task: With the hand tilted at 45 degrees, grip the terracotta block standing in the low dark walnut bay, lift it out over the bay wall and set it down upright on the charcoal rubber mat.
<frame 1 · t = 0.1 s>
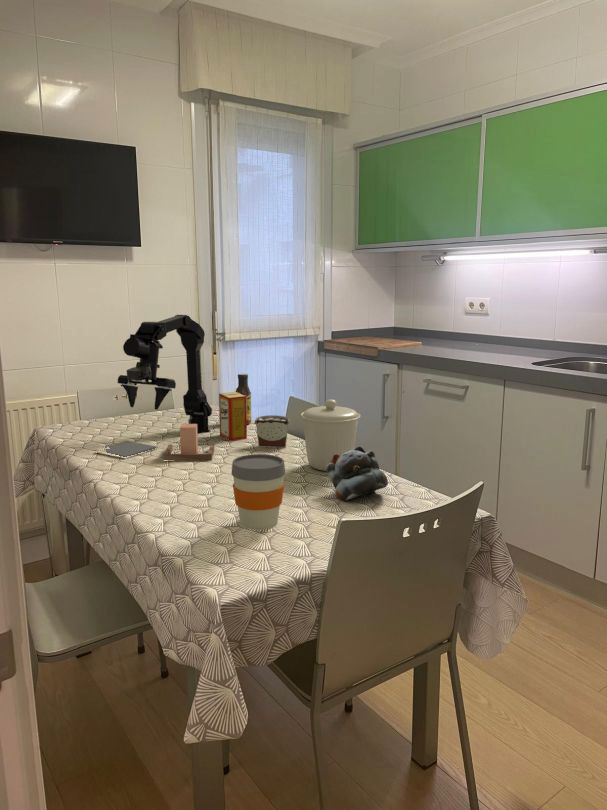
hand: (143, 408, 199), 15 cm above the table, tool pointing down, fingers open, 9 cm apart
grey stuffed animal: (355, 495, 166), on the table
food container: (273, 445, 215), on the table
canister: (329, 467, 190), on the table
terracotta block: (189, 440, 201), in the walnut bay
rubber mat: (125, 450, 206), on the table
reusable coffee cup: (258, 522, 147), on the table
sauce bottle: (243, 423, 247), on the table
walnut bay: (189, 455, 202), on the table
baking soda box: (233, 437, 226), on the table
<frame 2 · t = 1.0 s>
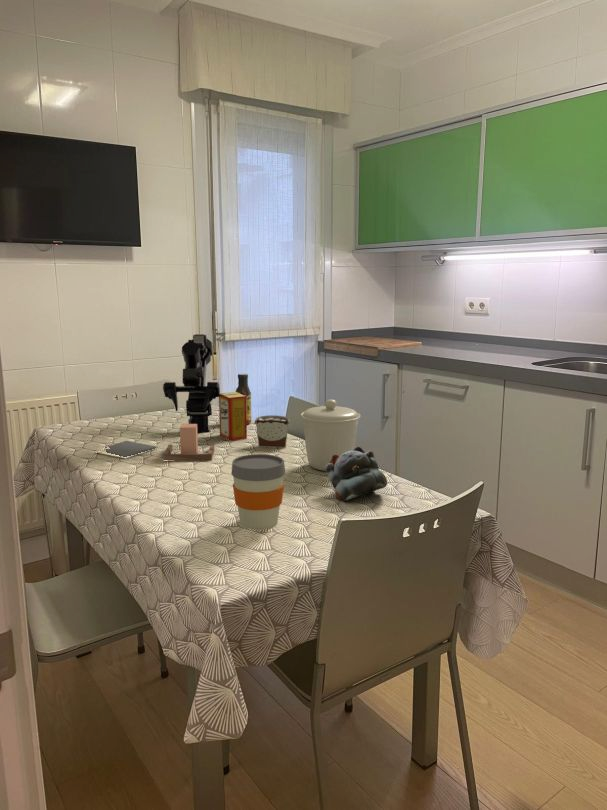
hand: (190, 410, 207), 13 cm above the table, tool tilted 45°, fingers open, 9 cm apart
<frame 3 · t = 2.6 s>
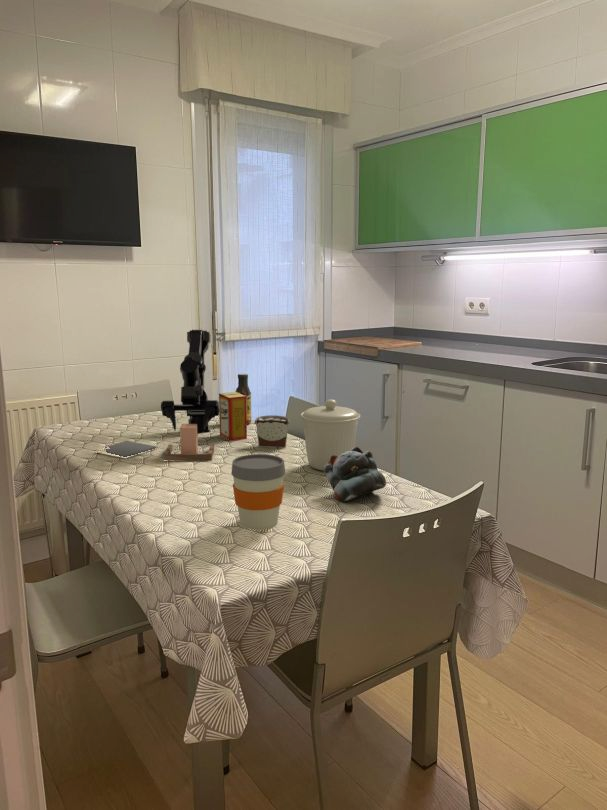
hand: (189, 429, 201), 8 cm above the table, tool tilted 45°, fingers open, 9 cm apart
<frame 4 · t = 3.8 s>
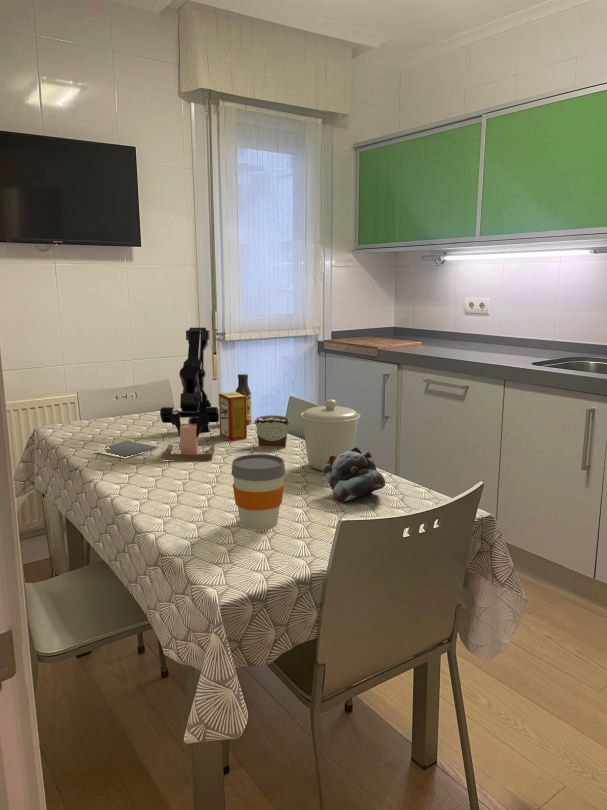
hand: (188, 436, 199), 7 cm above the table, tool tilted 45°, fingers closed on terracotta block, 5 cm apart
terracotta block: (189, 440, 201), in the walnut bay, touching gripper
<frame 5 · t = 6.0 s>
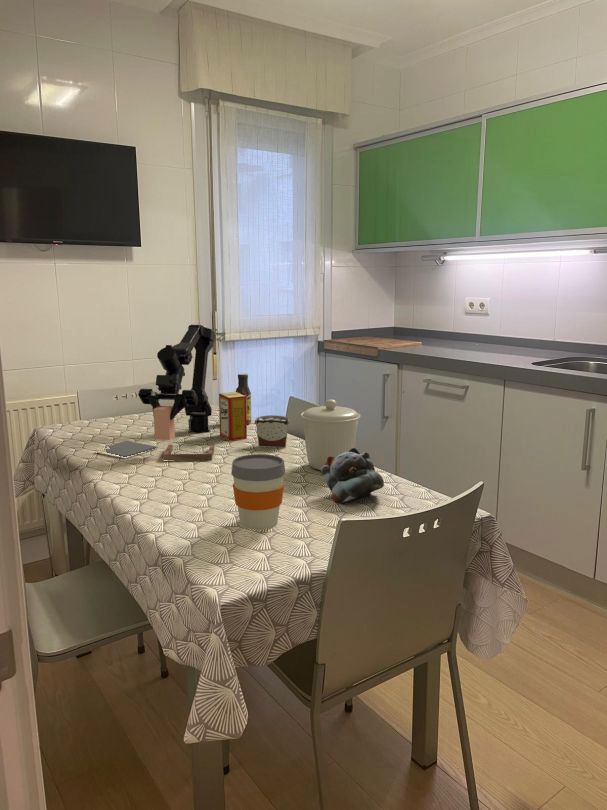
hand: (162, 418, 198), 12 cm above the table, tool tilted 45°, fingers closed on terracotta block, 5 cm apart
terracotta block: (164, 422, 199), point 11 cm above the table, touching gripper
when the fingers open (9 cm above the table, at t = 8.5 s): terracotta block drops 1 cm, resting on rubber mat.
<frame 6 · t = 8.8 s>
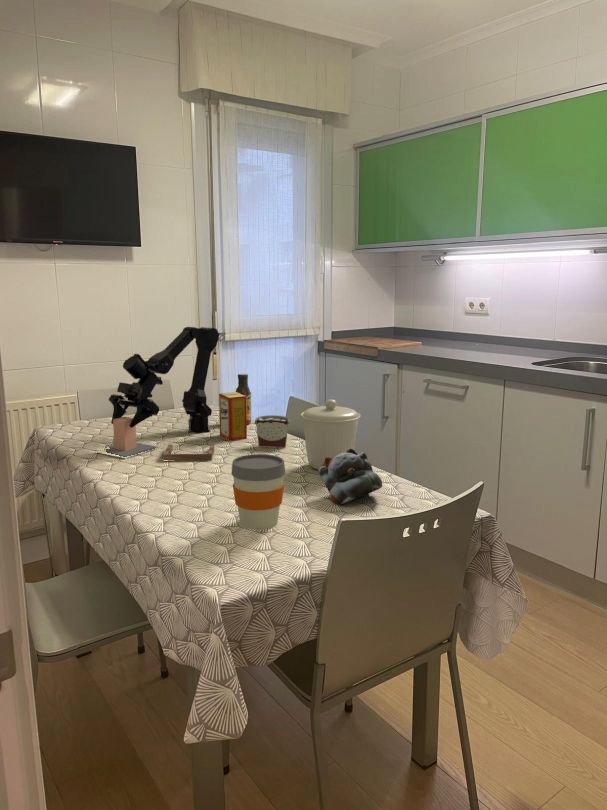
hand: (121, 425, 203), 9 cm above the table, tool tilted 45°, fingers open, 8 cm apart
terracotta block: (124, 433, 205), on the rubber mat, point 6 cm above the table
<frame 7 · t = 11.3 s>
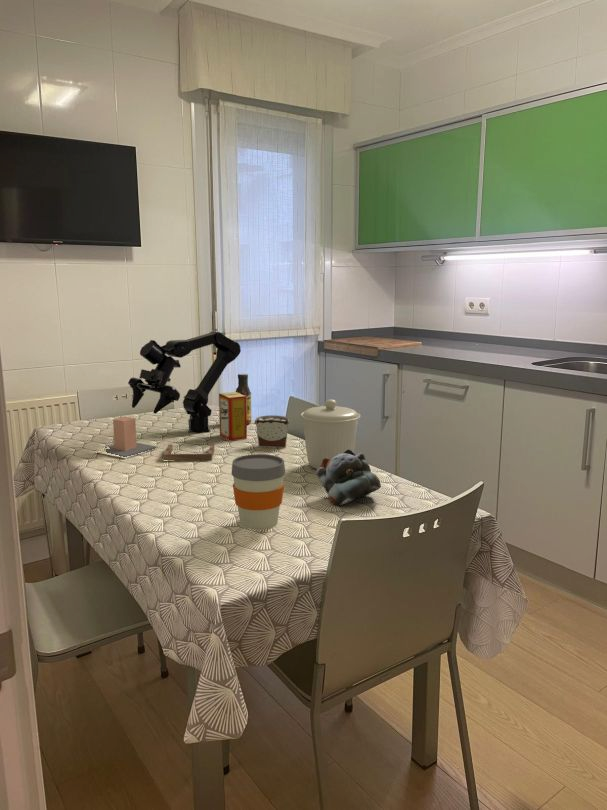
hand: (143, 410, 212), 12 cm above the table, tool tilted 40°, fingers open, 9 cm apart
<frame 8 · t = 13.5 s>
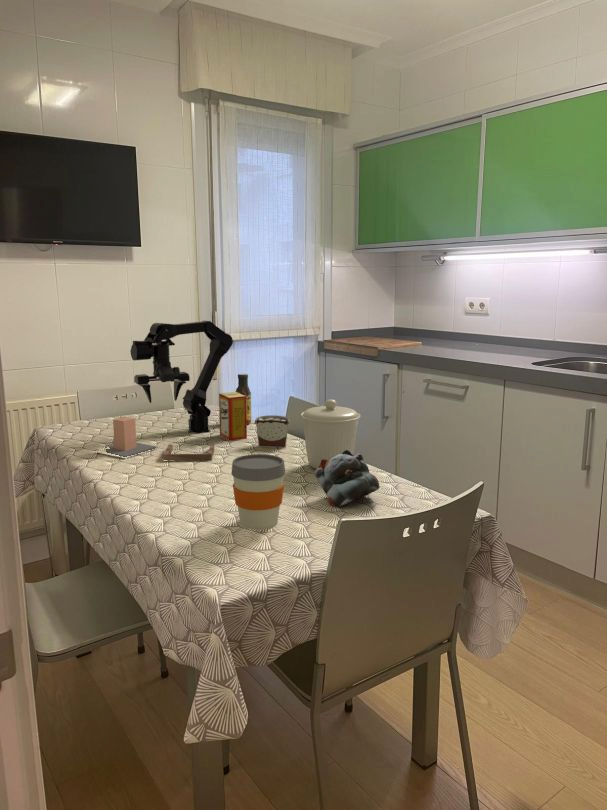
hand: (163, 401, 223), 13 cm above the table, tool pointing down, fingers open, 9 cm apart
at the end: terracotta block inside the target area on the rubber mat (0.0 cm from its centre), point 6.0 cm above the rubber mat's base; terracotta block tilted 0°; the gripper is holding nothing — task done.
